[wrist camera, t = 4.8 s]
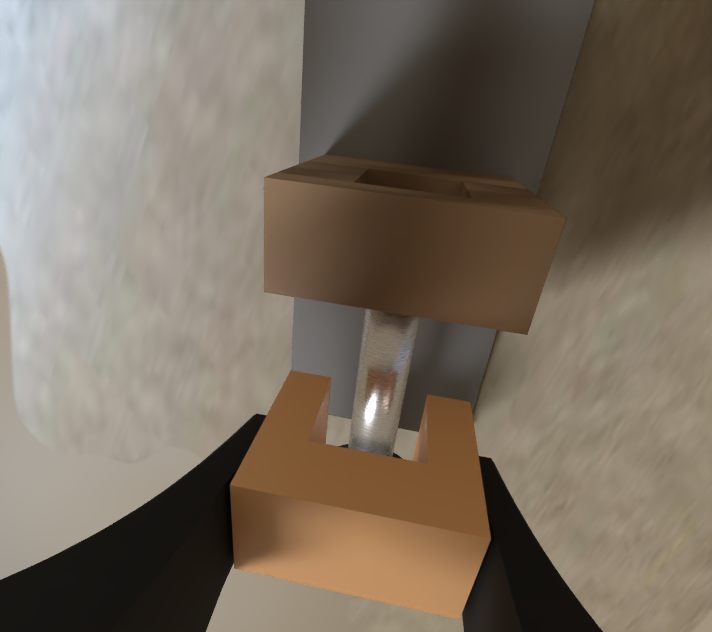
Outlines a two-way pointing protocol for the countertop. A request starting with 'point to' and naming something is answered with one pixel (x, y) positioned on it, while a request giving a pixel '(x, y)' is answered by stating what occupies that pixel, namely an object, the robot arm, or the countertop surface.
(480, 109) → the bearing block
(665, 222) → the countertop surface
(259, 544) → the block
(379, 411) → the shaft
